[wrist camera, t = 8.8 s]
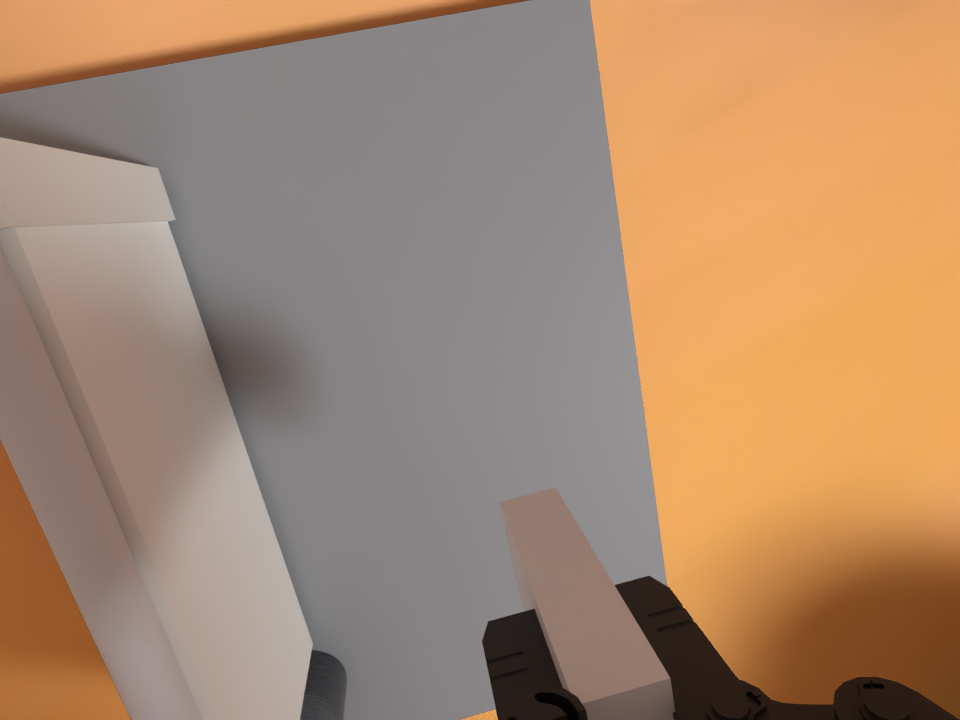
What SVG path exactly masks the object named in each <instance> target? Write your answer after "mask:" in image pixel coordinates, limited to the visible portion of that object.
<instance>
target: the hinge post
mask: <svg viewBox="0 0 960 720" xmlns="http://www.w3.org/2000/svg"><path fill="white" fill-rule="evenodd" d="M346 687H347V674H346V670H345V668H344V666H343V665H342V663H341V662H340V661H339V660H338V659H337V658H336V657H334V656H333V655H331V654H329V653H326V652H322V651H316V650H312V652H311V657H310V663H309V669H308V675H307V681H306V687H305V692H304V698H303V704H302V710H301V716H300V720H344V710H345V699H346Z"/></svg>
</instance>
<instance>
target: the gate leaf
mask: <svg viewBox="0 0 960 720" xmlns="http://www.w3.org/2000/svg"><path fill="white" fill-rule="evenodd" d="M173 220H176V219H175V216H174V214H173V211H172V208H171V205H170V202H169V199H168V196H167V193H166V190H165V187H164V184H163V181H162V178H161V175H160V172H159V169H158V168H155V167H150V166H144V165H139V164H134V163H129V162H124V161H119V160H114V159H109V158H104V157H98V156H93V155H88V154H83V153H78V152H73V151H68V150H63V149H58V148H52V147H47V146H42V145H37V144H32V143H27V142H22V141H17V140H12V139H7V138H1V137H0V440H1V442H2V445H3V447H4V449H5V451H6V453H7V455H8V457H9V460H10V462H11V464H12V466H13V468H14V470H15V472H16V475H17V477H18V479H19V481H20V483H21V485H22V487H23V490H24V492H25V494H26V496H27V498H28V500H29V502H30V505H31V507H32V509H33V511H34V513H35V515H36V517H37V520H38V522H39V524H40V526H41V528H42V530H43V532H44V535H45V537H46V539H47V541H48V543H49V545H50V547H51V550H52V552H53V554H54V556H55V558H56V560H57V562H58V565H59V567H60V569H61V571H62V573H63V575H64V577H65V580H66V582H67V584H68V586H69V588H70V590H71V592H72V595H73V597H74V599H75V601H76V603H77V605H78V607H79V610H80V612H81V614H82V616H83V618H84V620H85V623H86V625H87V627H88V629H89V631H90V633H91V635H92V638H93V640H94V642H95V644H96V646H97V648H98V650H99V653H100V655H101V657H102V659H103V661H104V663H105V665H106V668H107V670H108V672H109V674H110V676H111V678H112V680H113V683H114V685H115V687H116V689H117V691H118V693H119V695H120V698H121V700H122V702H123V704H124V706H125V708H126V710H127V713H128V715H129V717H130V719H131V720H300V716H301V710H302V704H303V698H304V692H305V687H306V681H307V675H308V669H309V663H310V657H311V652H312V646H313V643H312V640H311V637H310V634H309V631H308V628H307V625H306V622H305V619H304V616H303V613H302V611H301V608H300V605H299V602H298V599H297V596H296V593H295V590H294V587H293V584H292V582H291V579H290V576H289V573H288V570H287V567H286V564H285V561H284V558H283V555H282V552H281V550H280V547H279V544H278V541H277V538H276V535H275V532H274V529H273V526H272V523H271V520H270V518H269V515H268V512H267V509H266V506H265V503H264V500H263V497H262V494H261V491H260V489H259V486H258V483H257V480H256V477H255V474H254V471H253V468H252V465H251V462H250V459H249V457H248V454H247V451H246V448H245V445H244V442H243V439H242V436H241V433H240V430H239V427H238V425H237V422H236V419H235V416H234V413H233V410H232V407H231V404H230V401H229V398H228V395H227V393H226V390H225V387H224V384H223V381H222V378H221V375H220V372H219V369H218V366H217V364H216V361H215V358H214V355H213V352H212V349H211V346H210V343H209V340H208V337H207V334H206V332H205V329H204V326H203V323H202V320H201V317H200V314H199V311H198V308H197V305H196V302H195V300H194V297H193V294H192V291H191V288H190V285H189V282H188V279H187V276H186V273H185V271H184V268H183V265H182V262H181V259H180V256H179V253H178V250H177V247H176V244H175V241H174V239H173V236H172V233H171V230H170V227H169V224H168V221H173Z"/></svg>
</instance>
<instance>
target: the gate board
mask: <svg viewBox="0 0 960 720" xmlns="http://www.w3.org/2000/svg"><path fill="white" fill-rule="evenodd" d="M0 137H1V138H7V139H12V140H17V141H22V142H27V143H32V144H37V145H42V146H47V147H52V148H58V149H63V150H68V151H73V152H78V153H83V154H88V155H93V156H98V157H104V158H109V159H114V160H119V161H124V162H129V163H134V164H139V165H144V166H150V167H155V168H158V169H159V172H160V175H161V178H162V181H163V184H164V187H165V190H166V193H167V196H168V199H169V202H170V205H171V208H172V211H173V214H174V216H175V219H176V220H173V221H168V224H169V227H170V230H171V233H172V236H173V239H174V241H175V244H176V247H177V250H178V253H179V256H180V259H181V262H182V265H183V268H184V271H185V273H186V276H187V279H188V282H189V285H190V288H191V291H192V294H193V297H194V300H195V302H196V305H197V308H198V311H199V314H200V317H201V320H202V323H203V326H204V329H205V332H206V334H207V337H208V340H209V343H210V346H211V349H212V352H213V355H214V358H215V361H216V364H217V366H218V369H219V372H220V375H221V378H222V381H223V384H224V387H225V390H226V393H227V395H228V398H229V401H230V404H231V407H232V410H233V413H234V416H235V419H236V422H237V425H238V427H239V430H240V433H241V436H242V439H243V442H244V445H245V448H246V451H247V454H248V457H249V459H250V462H251V465H252V468H253V471H254V474H255V477H256V480H257V483H258V486H259V489H260V491H261V494H262V497H263V500H264V503H265V506H266V509H267V512H268V515H269V518H270V520H271V523H272V526H273V529H274V532H275V535H276V538H277V541H278V544H279V547H280V550H281V552H282V555H283V558H284V561H285V564H286V567H287V570H288V573H289V576H290V579H291V582H292V584H293V587H294V590H295V593H296V596H297V599H298V602H299V605H300V608H301V611H302V613H303V616H304V619H305V622H306V625H307V628H308V631H309V634H310V637H311V640H312V643H313V646H312V650H316V651H322V652H326V653H329V654H331V655H333V656H334V657H336V658H337V659H338V660H339V661H340V662H341V663H342V665H343V666H344V668H345V670H346V674H347V687H346V699H345V710H344V720H460V719H464V718H467V717H471V716H474V715H477V714H481V713H484V712H487V711H491V710H494V709H496V707H495V702H494V697H493V692H492V688H491V683H490V678H489V673H488V668H487V663H486V658H485V653H484V649H483V644H482V640H483V636H484V633H485V630H486V627H487V623H488V621H491V620H495V619H498V618H502V617H506V616H509V615H513V614H517V613H520V612H524V611H525V609H524V606H523V603H522V600H521V597H520V594H519V590H518V586H517V581H516V576H515V572H514V567H513V563H512V558H511V553H510V549H509V544H508V539H507V535H506V530H505V525H504V521H503V516H502V511H501V507H500V501H504V500H508V499H512V498H516V497H520V496H524V495H528V494H532V493H536V492H539V491H543V490H547V489H551V488H555V487H556V489H557V491H558V492H559V494H560V496H561V497H562V499H563V501H564V502H565V504H566V505H567V507H568V509H569V510H570V512H571V514H572V515H573V517H574V519H575V520H576V522H577V524H578V525H579V527H580V529H581V530H582V532H583V534H584V535H585V537H586V539H587V540H588V542H589V544H590V545H591V547H592V549H593V550H594V552H595V554H596V555H597V557H598V559H599V560H600V562H601V564H602V565H603V567H604V569H605V570H606V572H607V574H608V575H609V577H610V579H611V580H612V582H613V584H614V585H616V584H620V583H624V582H627V581H631V580H635V579H638V578H642V577H646V576H651V577H652V578H654V579H656V580H657V581H659V582H661V583H662V584H664V585H666V586H667V582H666V575H665V567H664V559H663V552H662V544H661V537H660V529H659V522H658V514H657V506H656V499H655V491H654V484H653V476H652V469H651V461H650V454H649V446H648V438H647V431H646V423H645V416H644V408H643V401H642V393H641V386H640V378H639V370H638V363H637V355H636V348H635V340H634V333H633V325H632V318H631V310H630V302H629V295H628V287H627V280H626V272H625V265H624V257H623V249H622V242H621V234H620V227H619V219H618V212H617V204H616V197H615V189H614V181H613V174H612V166H611V159H610V151H609V144H608V136H607V129H606V121H605V113H604V106H603V98H602V91H601V83H600V76H599V68H598V61H597V53H596V45H595V38H594V30H593V23H592V15H591V8H590V0H529V1H524V2H518V3H512V4H507V5H501V6H495V7H490V8H484V9H478V10H473V11H467V12H461V13H456V14H450V15H444V16H439V17H433V18H427V19H422V20H416V21H410V22H405V23H399V24H393V25H388V26H382V27H377V28H371V29H365V30H360V31H354V32H348V33H343V34H337V35H331V36H326V37H320V38H314V39H309V40H303V41H297V42H292V43H286V44H280V45H275V46H269V47H263V48H258V49H252V50H246V51H241V52H235V53H230V54H224V55H218V56H213V57H207V58H201V59H196V60H190V61H184V62H179V63H173V64H167V65H162V66H156V67H150V68H145V69H139V70H133V71H128V72H122V73H116V74H111V75H105V76H100V77H94V78H88V79H83V80H77V81H71V82H66V83H60V84H54V85H49V86H43V87H37V88H32V89H26V90H20V91H15V92H9V93H3V94H0Z"/></svg>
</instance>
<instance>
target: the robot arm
mask: <svg viewBox="0 0 960 720" xmlns="http://www.w3.org/2000/svg"><path fill="white" fill-rule="evenodd" d="M500 507H501V511H502V516H503V521H504V525H505V530H506V535H507V539H508V544H509V549H510V553H511V558H512V563H513V567H514V572H515V576H516V581H517V586H518V590H519V594H520V597H521V600H522V603H523V606H524V609H525V611H524V612H520V613H517V614H513V615H509V616H506V617H502V618H498V619H495V620H491V621H488V623H487V627H486V630H485V633H484V636H483V640H482V644H483V649H484V653H485V658H486V663H487V668H488V673H489V678H490V683H491V688H492V692H493V697H494V702H495V707H496V712H497V717H498V720H959V719H957V718H956V717H954V716H953V715H951V714H950V713H948V712H947V711H945V710H944V709H942V708H941V707H939V706H937V705H936V704H934V703H933V702H931V701H930V700H928V699H927V698H925V697H924V696H922V695H921V694H919V693H918V692H916V691H914V690H912V689H910V688H908V687H906V686H904V685H902V684H900V683H898V682H894V681H890V680H886V679H882V678H878V677H858V678H855V679H852V680H849V681H846V682H844V683H843V684H842V685H841V686H840V687H839V688H838V689H837V690H836V691H835V695H834V703H833V705H807V704H789V703H781V702H778V701H774V700H771V699H770V698H769V697H767V696H766V695H765V694H764V693H763V692H762V691H761V690H760V689H759V688H757V687H755V686H753V685H750V684H748V683H746V682H744V681H742V680H739V679H738V678H737V677H736V676H735V675H734V673H733V672H732V671H731V669H730V668H729V667H728V665H727V664H726V663H725V661H724V660H723V659H722V657H721V656H720V655H719V653H718V652H717V651H716V649H715V648H714V647H713V645H712V644H711V643H710V641H709V640H708V639H707V637H706V636H705V635H704V633H703V632H702V631H701V629H700V628H699V627H698V625H697V624H696V623H694V621H693V619H692V617H691V616H690V615H689V613H688V612H687V611H686V609H685V608H683V606H682V604H681V603H680V601H679V600H678V599H677V597H676V596H675V595H674V593H673V592H672V591H671V589H670V588H669V587H667V586H666V585H664V584H662V583H661V582H659V581H657V580H656V579H654V578H652V577H651V576H646V577H642V578H638V579H635V580H631V581H627V582H624V583H620V584H616V585H614V584H613V582H612V580H611V579H610V577H609V575H608V574H607V572H606V570H605V569H604V567H603V565H602V564H601V562H600V560H599V559H598V557H597V555H596V554H595V552H594V550H593V549H592V547H591V545H590V544H589V542H588V540H587V539H586V537H585V535H584V534H583V532H582V530H581V529H580V527H579V525H578V524H577V522H576V520H575V519H574V517H573V515H572V514H571V512H570V510H569V509H568V507H567V505H566V504H565V502H564V501H563V499H562V497H561V496H560V494H559V492H558V491H557V489H556V487H555V488H551V489H547V490H543V491H539V492H536V493H532V494H528V495H524V496H520V497H516V498H512V499H508V500H504V501H500Z"/></svg>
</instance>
